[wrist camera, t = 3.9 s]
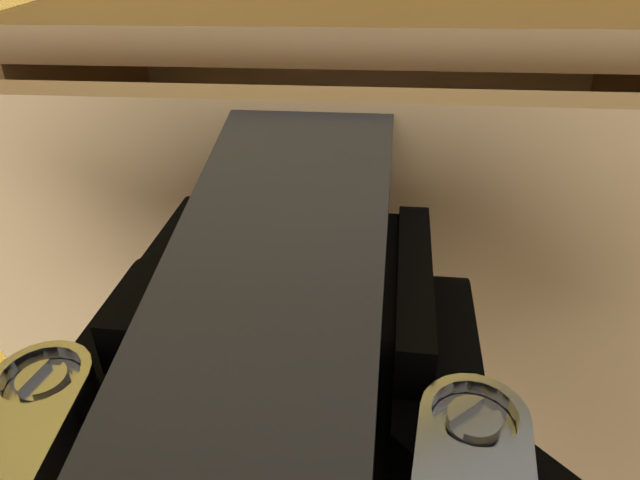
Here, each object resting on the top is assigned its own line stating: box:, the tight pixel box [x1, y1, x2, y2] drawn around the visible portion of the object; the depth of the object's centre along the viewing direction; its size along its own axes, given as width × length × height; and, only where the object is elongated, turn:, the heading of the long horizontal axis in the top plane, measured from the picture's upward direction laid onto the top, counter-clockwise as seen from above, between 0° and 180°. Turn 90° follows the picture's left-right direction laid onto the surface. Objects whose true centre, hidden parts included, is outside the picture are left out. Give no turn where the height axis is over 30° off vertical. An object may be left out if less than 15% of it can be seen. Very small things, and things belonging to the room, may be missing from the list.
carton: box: [0, 0, 640, 92], centre depth 22 cm, size 18×20×10 cm
